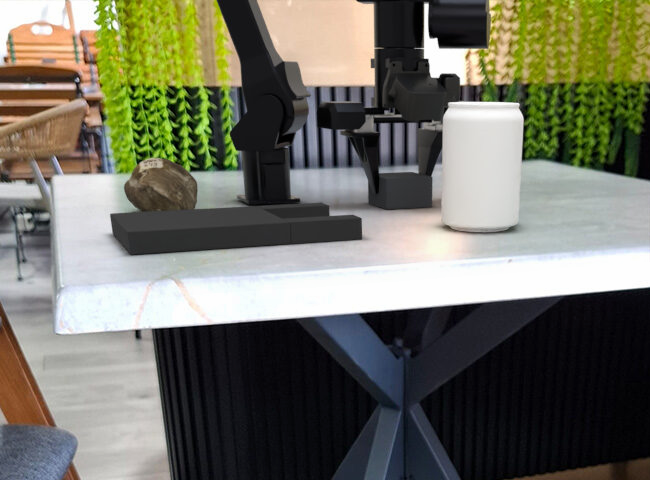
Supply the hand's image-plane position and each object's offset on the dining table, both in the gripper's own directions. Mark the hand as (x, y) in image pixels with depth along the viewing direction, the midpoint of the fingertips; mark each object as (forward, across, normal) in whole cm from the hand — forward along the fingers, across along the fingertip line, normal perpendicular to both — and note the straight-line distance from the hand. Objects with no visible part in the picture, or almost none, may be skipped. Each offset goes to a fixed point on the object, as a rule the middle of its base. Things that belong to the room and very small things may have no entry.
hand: (399, 192), depth 109 cm
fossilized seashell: (+2, -28, +3) cm, 28 cm away
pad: (+2, 0, 0) cm, 2 cm away
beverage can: (+2, +1, -19) cm, 19 cm away
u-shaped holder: (+2, -24, -15) cm, 28 cm away
